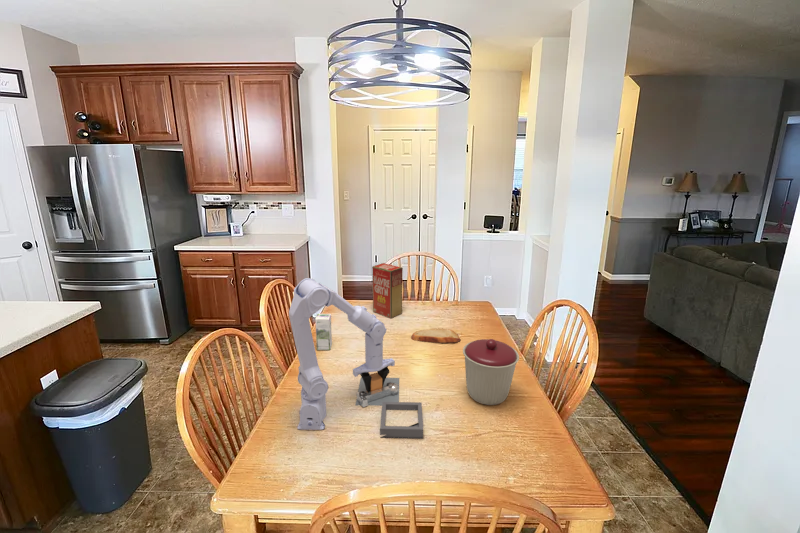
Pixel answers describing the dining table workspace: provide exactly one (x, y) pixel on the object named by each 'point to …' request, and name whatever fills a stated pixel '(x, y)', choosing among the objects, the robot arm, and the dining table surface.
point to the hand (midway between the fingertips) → (374, 388)
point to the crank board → (384, 399)
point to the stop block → (375, 381)
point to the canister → (489, 370)
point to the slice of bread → (436, 336)
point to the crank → (376, 394)
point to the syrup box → (323, 331)
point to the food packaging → (387, 290)
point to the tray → (402, 431)
